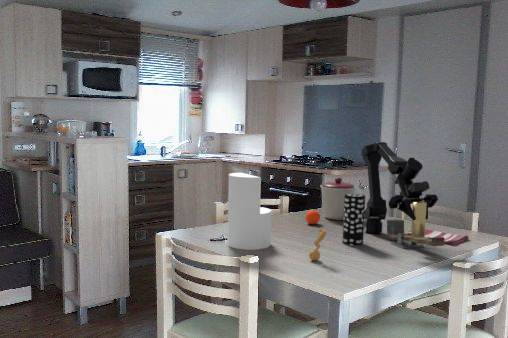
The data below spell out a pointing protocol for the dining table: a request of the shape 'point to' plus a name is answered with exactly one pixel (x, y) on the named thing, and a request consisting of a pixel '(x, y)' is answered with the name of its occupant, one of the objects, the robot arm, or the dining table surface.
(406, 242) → the beam stand
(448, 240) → the dish towel
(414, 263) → the dining table surface
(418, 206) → the brass weight
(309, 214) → the clementine
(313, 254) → the figurine
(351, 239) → the spotted tube
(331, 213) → the canister
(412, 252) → the dining table surface
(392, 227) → the balance beam
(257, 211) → the white stepped pillar
